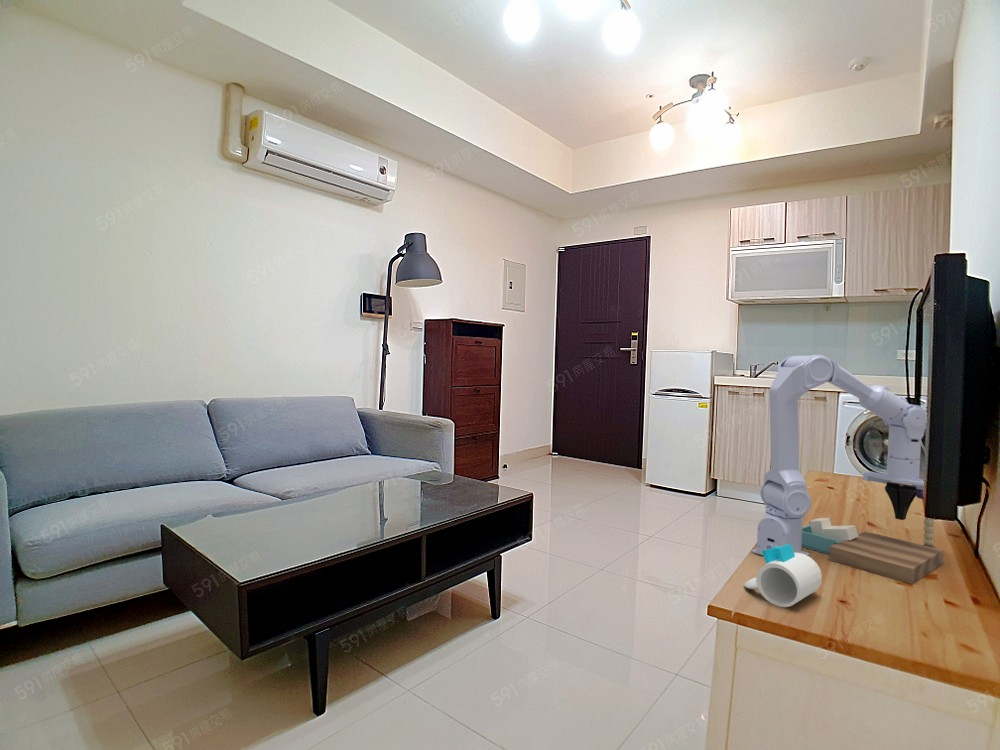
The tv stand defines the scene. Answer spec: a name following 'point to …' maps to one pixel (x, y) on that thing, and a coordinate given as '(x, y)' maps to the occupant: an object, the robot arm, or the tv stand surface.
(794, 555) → the mug
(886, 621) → the tv stand surface
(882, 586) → the tv stand surface
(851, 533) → the tile
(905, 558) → the walnut board
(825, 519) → the tile
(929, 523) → the toy lamp
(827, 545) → the box
